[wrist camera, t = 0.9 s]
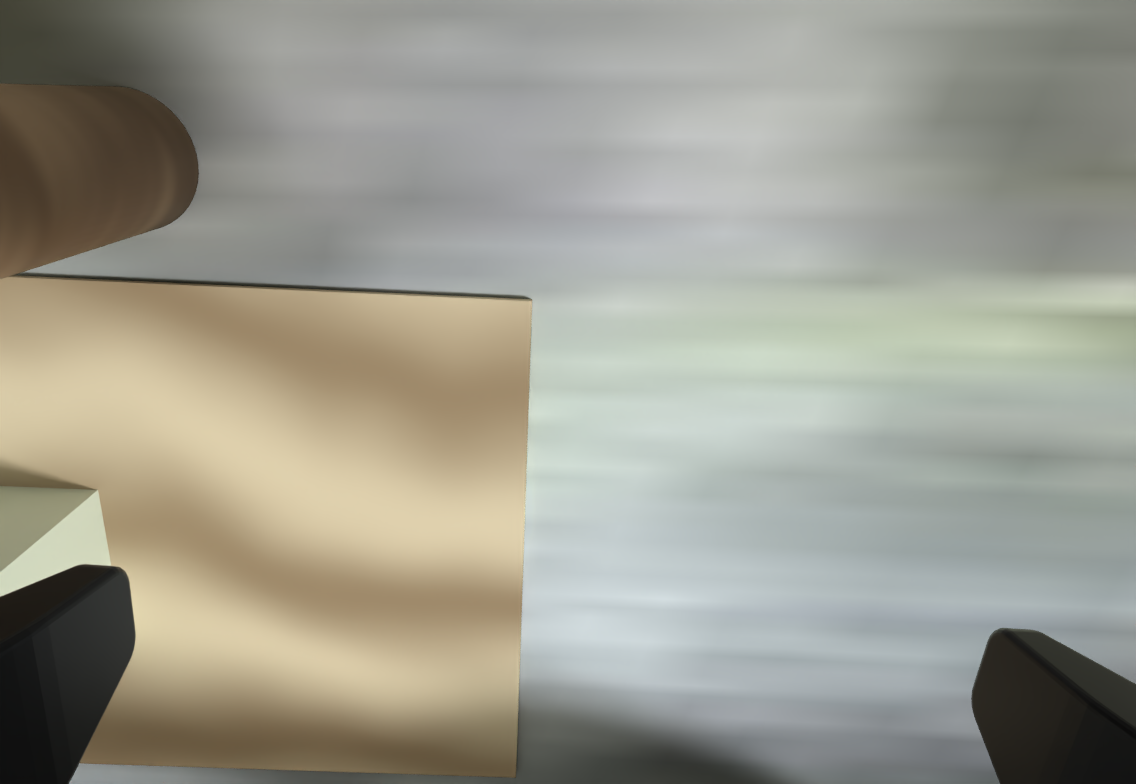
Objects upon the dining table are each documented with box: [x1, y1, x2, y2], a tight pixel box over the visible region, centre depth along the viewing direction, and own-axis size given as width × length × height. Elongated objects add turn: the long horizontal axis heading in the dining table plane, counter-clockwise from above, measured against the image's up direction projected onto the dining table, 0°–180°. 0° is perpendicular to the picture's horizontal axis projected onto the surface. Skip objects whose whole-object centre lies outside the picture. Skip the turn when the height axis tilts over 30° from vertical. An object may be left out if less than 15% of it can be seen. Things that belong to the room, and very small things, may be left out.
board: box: [0, 275, 532, 778], centre depth 23 cm, size 16×18×1 cm
